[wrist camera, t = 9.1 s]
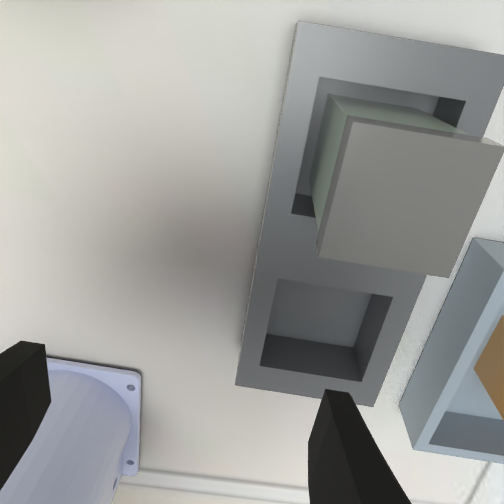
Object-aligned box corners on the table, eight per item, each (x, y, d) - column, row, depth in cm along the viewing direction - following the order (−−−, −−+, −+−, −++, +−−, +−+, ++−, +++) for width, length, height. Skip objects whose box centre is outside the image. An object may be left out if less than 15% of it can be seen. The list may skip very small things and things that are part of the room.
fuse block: (362, 364, 23) (373, 407, 20) (240, 345, 23) (234, 385, 20) (475, 53, 16) (515, 56, 13) (295, 23, 16) (298, 20, 13)
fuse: (391, 195, 18) (448, 278, 12) (306, 181, 18) (318, 256, 12) (420, 105, 16) (506, 147, 10) (325, 90, 16) (352, 122, 10)
